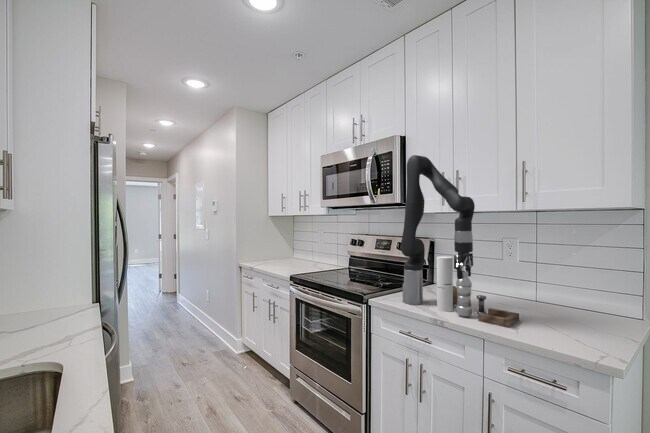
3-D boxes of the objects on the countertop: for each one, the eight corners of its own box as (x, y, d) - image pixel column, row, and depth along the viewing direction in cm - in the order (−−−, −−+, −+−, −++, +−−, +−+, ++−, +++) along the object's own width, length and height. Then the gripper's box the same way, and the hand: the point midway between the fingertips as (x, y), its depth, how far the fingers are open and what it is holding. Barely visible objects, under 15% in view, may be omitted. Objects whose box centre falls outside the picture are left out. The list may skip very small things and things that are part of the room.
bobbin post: (475, 313, 149) (475, 296, 149) (478, 312, 151) (478, 294, 151) (484, 315, 146) (484, 297, 146) (487, 313, 149) (487, 296, 149)
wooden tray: (478, 320, 139) (478, 313, 139) (489, 314, 148) (489, 307, 148) (509, 327, 130) (509, 320, 130) (519, 320, 139) (519, 313, 139)
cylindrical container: (454, 311, 152) (453, 258, 152) (438, 311, 153) (437, 257, 153) (451, 307, 159) (451, 256, 159) (436, 307, 160) (435, 256, 160)
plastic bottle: (464, 319, 141) (464, 273, 141) (452, 315, 147) (452, 270, 147) (475, 317, 144) (475, 271, 144) (463, 313, 150) (463, 269, 150)
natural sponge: (444, 302, 169) (444, 282, 169) (462, 304, 164) (462, 284, 164) (439, 306, 162) (439, 286, 162) (458, 308, 157) (458, 288, 157)
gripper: (462, 240, 153) (462, 274, 153) (447, 241, 143) (448, 278, 143) (478, 240, 148) (479, 276, 148) (464, 242, 138) (465, 280, 138)
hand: (464, 277), depth 145 cm, fingers open, 8 cm apart
